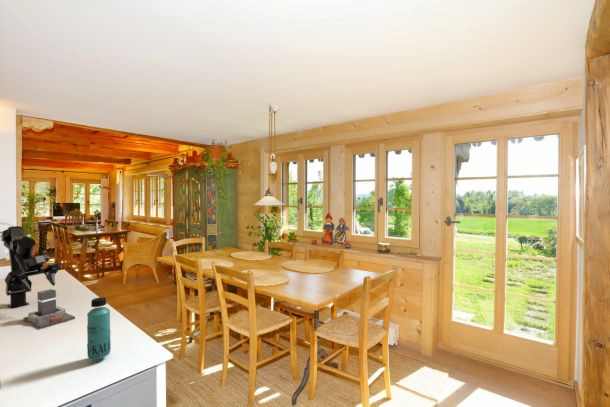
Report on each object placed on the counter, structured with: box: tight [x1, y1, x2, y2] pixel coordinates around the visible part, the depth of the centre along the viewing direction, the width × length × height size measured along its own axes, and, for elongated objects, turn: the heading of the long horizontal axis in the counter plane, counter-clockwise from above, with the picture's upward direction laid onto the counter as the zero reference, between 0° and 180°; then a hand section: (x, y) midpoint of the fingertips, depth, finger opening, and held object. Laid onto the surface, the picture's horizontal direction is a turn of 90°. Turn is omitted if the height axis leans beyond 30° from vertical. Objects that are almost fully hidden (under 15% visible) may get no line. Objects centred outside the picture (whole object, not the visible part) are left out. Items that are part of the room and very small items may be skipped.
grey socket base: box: [22, 306, 76, 330], centre depth 134 cm, size 18×12×3 cm, turn 59°
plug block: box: [36, 289, 57, 316], centre depth 135 cm, size 4×5×11 cm
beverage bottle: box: [86, 296, 112, 360], centre depth 101 cm, size 6×7×20 cm
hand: (42, 287), depth 136 cm, fingers open, 9 cm apart
